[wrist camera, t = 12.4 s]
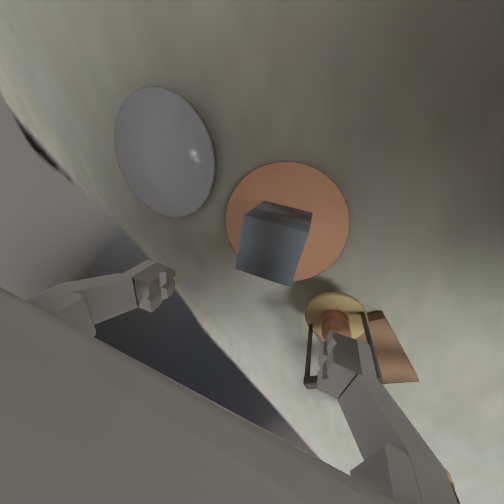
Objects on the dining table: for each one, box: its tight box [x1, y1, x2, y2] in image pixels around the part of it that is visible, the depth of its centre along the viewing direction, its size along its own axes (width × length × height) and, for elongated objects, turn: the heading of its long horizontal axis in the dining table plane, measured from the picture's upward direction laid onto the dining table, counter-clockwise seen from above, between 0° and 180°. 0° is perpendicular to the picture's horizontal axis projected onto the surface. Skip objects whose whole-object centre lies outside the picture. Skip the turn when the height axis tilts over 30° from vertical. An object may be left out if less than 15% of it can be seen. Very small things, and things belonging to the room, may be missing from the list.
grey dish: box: [115, 87, 216, 217], centre depth 22 cm, size 13×13×1 cm
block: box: [236, 201, 313, 287], centre depth 18 cm, size 5×5×6 cm
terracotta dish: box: [226, 162, 349, 281], centre depth 21 cm, size 13×13×1 cm
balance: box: [304, 292, 460, 504], centre depth 18 cm, size 23×8×15 cm, turn 35°
